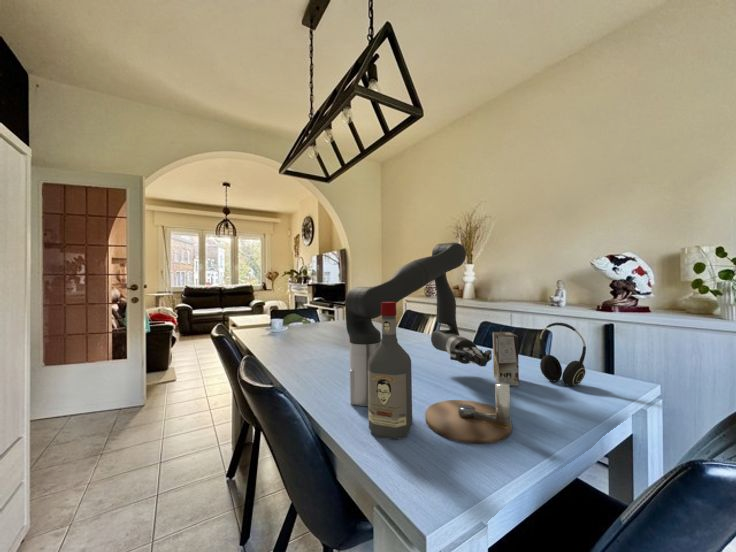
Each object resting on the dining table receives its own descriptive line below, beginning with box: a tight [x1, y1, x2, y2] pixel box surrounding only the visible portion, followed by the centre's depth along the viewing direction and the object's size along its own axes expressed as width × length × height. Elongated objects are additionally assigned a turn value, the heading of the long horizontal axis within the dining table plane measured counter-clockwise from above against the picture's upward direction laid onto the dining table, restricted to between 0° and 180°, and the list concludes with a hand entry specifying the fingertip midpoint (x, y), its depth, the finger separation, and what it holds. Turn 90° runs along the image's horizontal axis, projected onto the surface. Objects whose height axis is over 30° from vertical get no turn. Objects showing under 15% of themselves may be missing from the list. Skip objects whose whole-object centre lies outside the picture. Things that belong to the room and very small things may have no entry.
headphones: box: [539, 322, 587, 387], centre depth 102 cm, size 9×15×20 cm, turn 28°
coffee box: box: [492, 331, 520, 387], centre depth 105 cm, size 9×6×16 cm
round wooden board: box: [424, 399, 513, 445], centre depth 76 cm, size 20×20×2 cm
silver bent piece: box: [458, 381, 511, 426], centre depth 73 cm, size 12×4×9 cm, turn 51°
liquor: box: [367, 302, 413, 441], centre depth 73 cm, size 9×9×30 cm
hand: (483, 362), depth 82 cm, fingers closed
